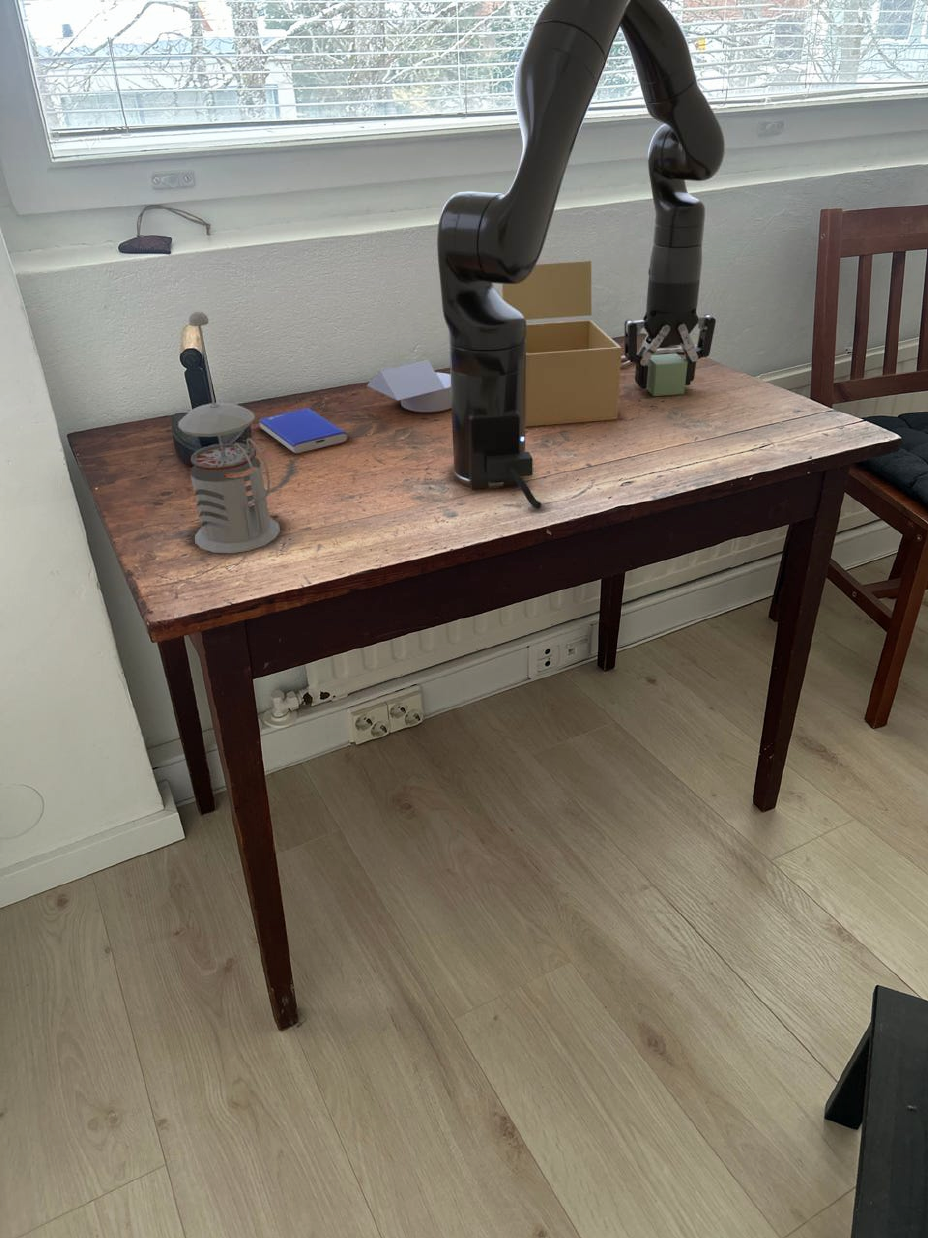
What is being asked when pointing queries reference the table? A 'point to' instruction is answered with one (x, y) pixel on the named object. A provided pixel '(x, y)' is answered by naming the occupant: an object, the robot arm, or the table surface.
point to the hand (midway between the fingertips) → (664, 385)
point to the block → (666, 375)
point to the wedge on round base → (415, 386)
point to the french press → (222, 497)
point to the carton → (571, 373)
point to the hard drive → (302, 430)
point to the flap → (552, 291)
